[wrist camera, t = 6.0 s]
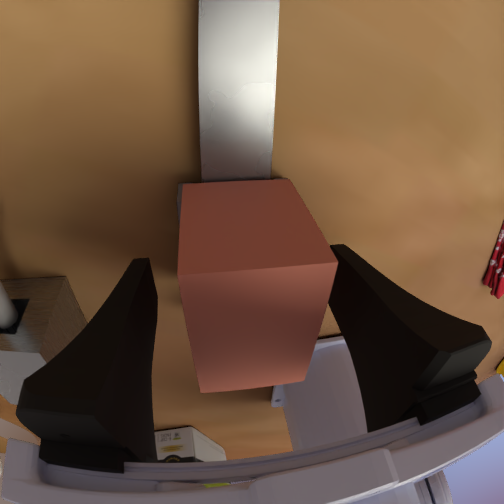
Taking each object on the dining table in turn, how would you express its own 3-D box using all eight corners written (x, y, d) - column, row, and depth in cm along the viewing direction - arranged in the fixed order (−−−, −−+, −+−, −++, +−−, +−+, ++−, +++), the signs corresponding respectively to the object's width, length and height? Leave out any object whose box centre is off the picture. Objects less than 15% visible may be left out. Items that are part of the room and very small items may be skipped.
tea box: (127, 458, 34) (132, 551, 23) (80, 434, 28) (79, 546, 16) (227, 447, 34) (244, 553, 22) (193, 423, 27) (210, 561, 16)
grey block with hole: (98, 345, 18) (88, 413, 14) (27, 343, 17) (10, 403, 13) (65, 276, 14) (39, 353, 11) (-12, 280, 14) (-44, 345, 10)
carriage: (277, 276, 16) (310, 379, 12) (189, 283, 16) (194, 393, 11) (288, 167, 13) (347, 261, 8) (177, 172, 12) (166, 276, 7)
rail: (262, 303, 18) (272, 346, 15) (205, 308, 17) (209, 352, 15) (281, -61, 7) (306, -87, 5) (193, -64, 6) (192, -94, 4)
